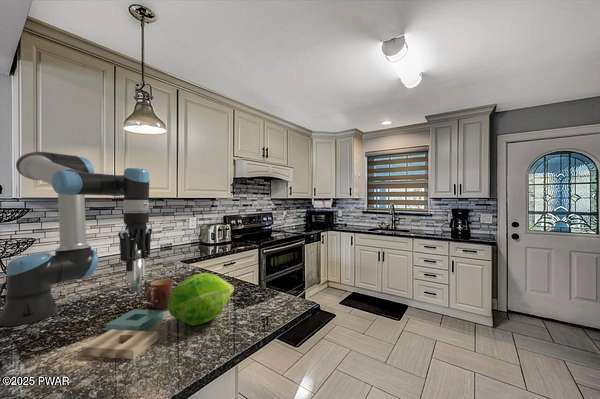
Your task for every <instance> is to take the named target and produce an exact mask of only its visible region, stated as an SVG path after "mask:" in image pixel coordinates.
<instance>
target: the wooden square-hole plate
mask: <svg viewBox="0 0 600 399" xmlns="http://www.w3.org/2000/svg"><path fill="white" fill-rule="evenodd" d="M158 339H159V331H148V330H146V331H132V330H114V329H112V330H110V331H108V332H106V331H105V332H104V333H103V334H102V335H99V336H98V337H96V338H95V339H93V340H91V341H89V342H88V343H86V344H84V345H83V346H81V356H82V357H83V356H84V357H95V358H109V359H123V360H135V359H136V358H137V357H138V356H140V355H141V354H142V353H143V352H145V351H146V350H147V349H149V348H150V347H151V346H152V345H154V344H155V343H156V342H157V341H159V340H158Z"/></svg>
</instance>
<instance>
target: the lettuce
mask: <svg viewBox="0 0 600 399" xmlns="http://www.w3.org/2000/svg"><path fill="white" fill-rule="evenodd" d="M234 291H235V287H234V286H233V285H232V284H231V283H230V282H228V281H226V280H225V279H223V278H222V277H220V276H218V275H216V274H214V273H210V272H208V273H207V272H206V273H205V272H204V273H203V272H202V273H196V274H193V275H190V276H188V277H187V278H185V279H184V280H183V281H182V282H180V283H179V284H177V285H176V286H175V287H174V289H172V293H171V295H170V296H169V298H168V305H167V309H168V312H169V314H170V315H171V316H172V317H173V318H174V319H176V320H178V321H180V322H183V323H186V324H188V325H190V326H198V325H202V324H204V323H205V324H206V323H208V322H210V321H212V320H214V319H216V318H217V317H218V316H220V313H221V312H222V311H223V309H224V308H225V306H226V305H227V303H228V302H229V298H230V297H231V296H232V295H233V294H234Z"/></svg>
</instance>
